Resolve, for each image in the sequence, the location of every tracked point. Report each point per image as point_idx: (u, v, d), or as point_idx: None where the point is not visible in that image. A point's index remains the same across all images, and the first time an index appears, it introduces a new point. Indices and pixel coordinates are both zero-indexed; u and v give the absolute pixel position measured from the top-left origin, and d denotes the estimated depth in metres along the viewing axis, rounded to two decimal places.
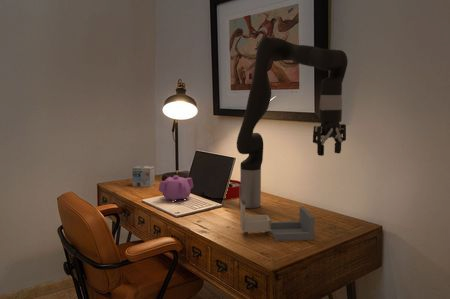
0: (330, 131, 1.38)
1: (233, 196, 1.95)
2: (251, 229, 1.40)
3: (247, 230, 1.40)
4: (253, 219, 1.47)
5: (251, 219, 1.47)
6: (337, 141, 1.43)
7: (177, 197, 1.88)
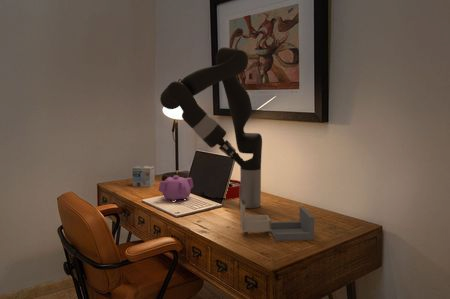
0: None
1: (233, 196, 1.95)
2: (251, 229, 1.40)
3: (247, 230, 1.40)
4: (253, 219, 1.47)
5: (251, 219, 1.47)
6: None
7: (177, 197, 1.88)
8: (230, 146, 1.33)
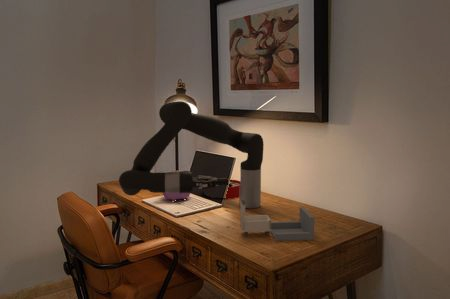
0: None
1: (233, 196, 1.96)
2: (251, 229, 1.40)
3: (247, 230, 1.40)
4: (253, 219, 1.47)
5: (251, 219, 1.47)
6: None
7: (177, 197, 1.88)
8: (205, 179, 1.38)
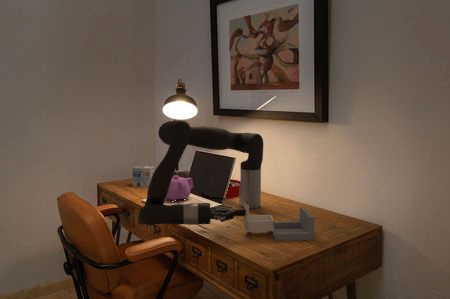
0: None
1: (233, 195, 1.96)
2: (254, 229, 1.40)
3: (251, 230, 1.40)
4: (256, 219, 1.47)
5: (254, 219, 1.47)
6: None
7: (177, 197, 1.88)
8: (223, 211, 1.41)
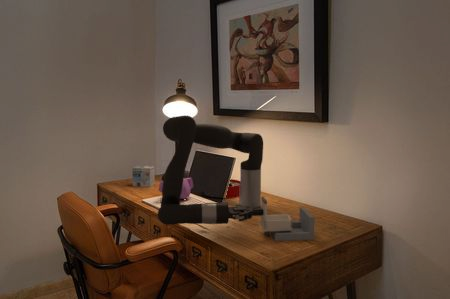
0: None
1: (233, 195, 1.97)
2: (272, 229, 1.41)
3: (269, 229, 1.41)
4: (274, 218, 1.47)
5: (272, 218, 1.47)
6: None
7: None
8: (241, 210, 1.41)
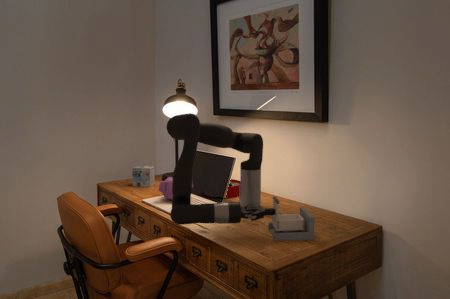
0: None
1: (233, 195, 1.97)
2: (284, 228, 1.41)
3: (281, 229, 1.41)
4: (285, 218, 1.48)
5: (283, 218, 1.48)
6: None
7: None
8: (253, 210, 1.41)
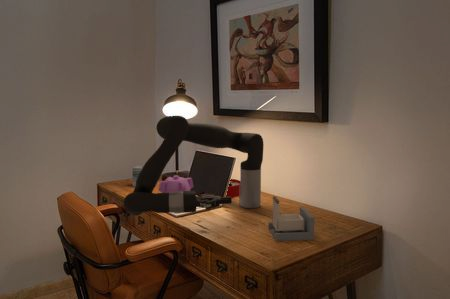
0: None
1: (233, 195, 1.97)
2: (284, 228, 1.41)
3: (281, 229, 1.41)
4: (285, 218, 1.48)
5: (283, 218, 1.48)
6: None
7: None
8: (208, 198, 1.40)
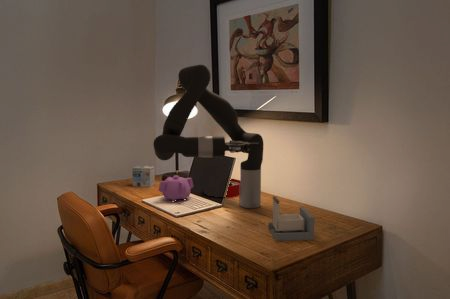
0: None
1: (233, 194, 1.98)
2: (284, 228, 1.41)
3: (281, 229, 1.41)
4: (285, 218, 1.48)
5: (283, 218, 1.48)
6: None
7: (177, 197, 1.88)
8: (237, 143, 1.40)
